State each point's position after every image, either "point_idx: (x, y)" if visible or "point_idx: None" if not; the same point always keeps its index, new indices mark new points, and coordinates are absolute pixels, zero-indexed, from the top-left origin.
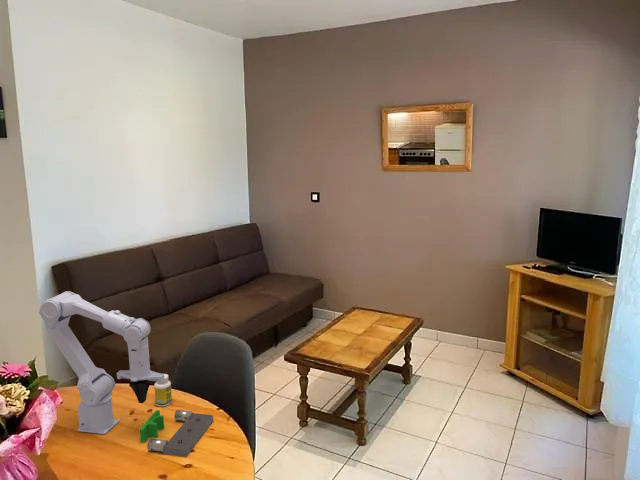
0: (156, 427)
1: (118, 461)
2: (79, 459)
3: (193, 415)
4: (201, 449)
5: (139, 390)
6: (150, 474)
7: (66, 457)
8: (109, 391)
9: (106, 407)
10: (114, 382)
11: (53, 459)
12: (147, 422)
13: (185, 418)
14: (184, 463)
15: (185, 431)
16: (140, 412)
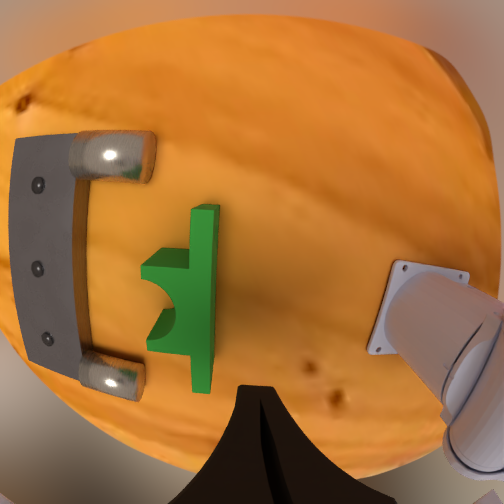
0: (146, 262)
1: (260, 73)
2: (409, 103)
3: (76, 368)
4: (6, 189)
5: (252, 475)
6: (114, 33)
7: (446, 123)
8: (464, 415)
9: (448, 338)
10: (454, 464)
11: (468, 121)
12: (198, 286)
13: (94, 356)
14: (31, 108)
15: (45, 261)
16: (307, 403)
